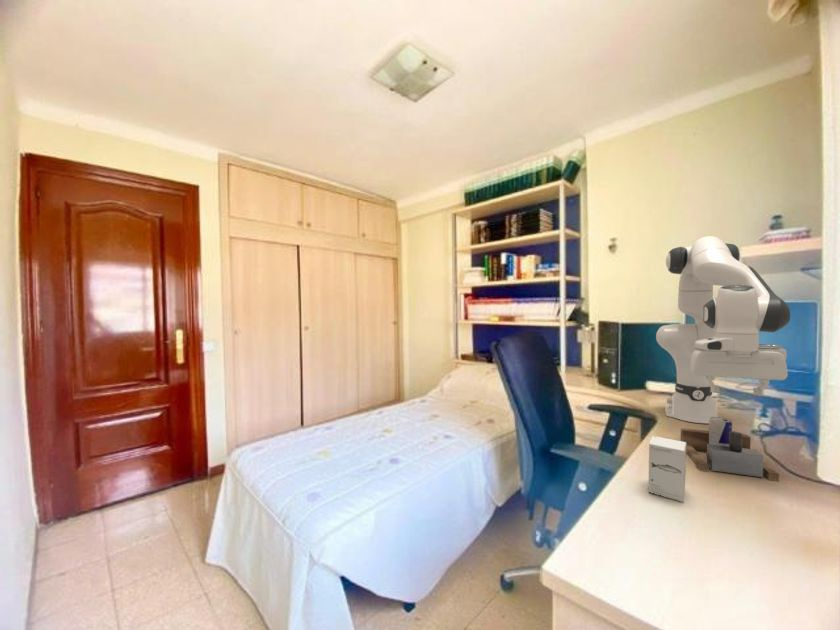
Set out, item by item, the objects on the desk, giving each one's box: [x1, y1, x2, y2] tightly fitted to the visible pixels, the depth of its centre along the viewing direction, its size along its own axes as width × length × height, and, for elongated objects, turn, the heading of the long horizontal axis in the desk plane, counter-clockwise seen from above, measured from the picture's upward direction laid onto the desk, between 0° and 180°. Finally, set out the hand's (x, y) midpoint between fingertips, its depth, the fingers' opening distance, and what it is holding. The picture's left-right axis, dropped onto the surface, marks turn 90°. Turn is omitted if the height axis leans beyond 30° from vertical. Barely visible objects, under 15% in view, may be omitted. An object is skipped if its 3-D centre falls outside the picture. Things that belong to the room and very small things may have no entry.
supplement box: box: [647, 435, 687, 503], centre depth 88 cm, size 7×7×13 cm
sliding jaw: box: [706, 430, 764, 478], centre depth 98 cm, size 4×11×11 cm, turn 67°
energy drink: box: [708, 416, 733, 447], centre depth 107 cm, size 5×5×12 cm
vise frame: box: [680, 427, 780, 482], centre depth 104 cm, size 18×17×6 cm
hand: (736, 393), depth 97 cm, fingers open, 8 cm apart
